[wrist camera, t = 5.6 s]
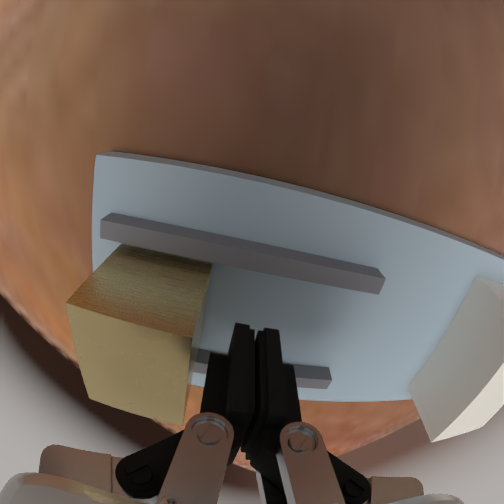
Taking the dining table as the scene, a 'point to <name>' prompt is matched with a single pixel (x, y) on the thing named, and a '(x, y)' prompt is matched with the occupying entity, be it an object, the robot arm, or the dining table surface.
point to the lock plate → (296, 269)
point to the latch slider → (140, 330)
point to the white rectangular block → (465, 367)
